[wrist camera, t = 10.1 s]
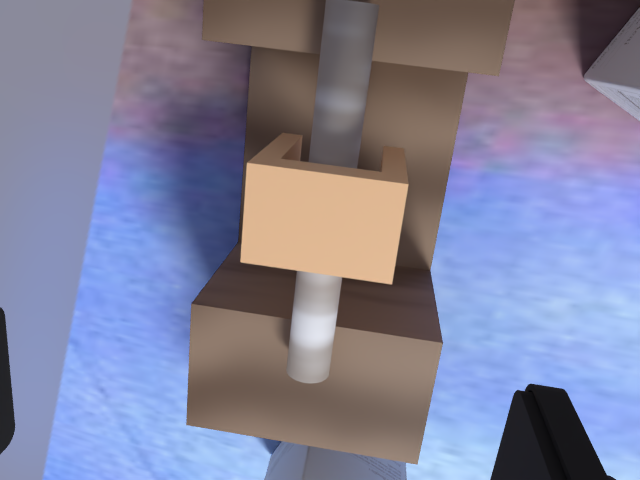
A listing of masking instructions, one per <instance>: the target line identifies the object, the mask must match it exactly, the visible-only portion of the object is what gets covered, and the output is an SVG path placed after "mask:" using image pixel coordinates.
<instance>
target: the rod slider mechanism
mask: <svg viewBox="0 0 640 480" xmlns="http://www.w3.org/2000/svg"><path fill="white" fill-rule="evenodd" d="M514 1H515V0H204V6H203V30H202V40H207V41H215V42H224V43H232V44H240V45H248V46H252V48H251V62H250V77H249V92H248V106H247V121H246V135H245V150H244V165H243V179H242V194H241V208H240V223H239V238H238V243H237V244H236V246H235V247H234V248H233V250H232V251H231V252H230V254H229V255H228V256H227V258H226V259H225V260H224V262H223V263H222V264H221V265H220V267H219V268H218V269H217V271H216V272H215V273H214V275H213V276H212V277H211V279H210V280H209V281H208V283H207V284H206V285H205V287H204V288H203V289H202V290H201V292H200V293H199V294H198V296H197V297H196V298H195V300H194V301H193V302H192V304H191V325H190V350H189V374H188V399H187V423H186V425H190V426H196V427H202V428H208V429H214V430H219V431H225V432H231V433H237V434H243V435H248V436H254V437H260V438H266V439H272V440H278V441H283V442H289V443H295V444H301V445H307V446H312V447H318V448H324V449H330V450H336V451H342V452H347V453H353V454H359V455H365V456H371V457H377V458H382V459H388V460H394V461H400V462H406V463H411V464H418V459H419V454H420V449H421V445H422V440H423V435H424V430H425V426H426V421H427V416H428V411H429V407H430V402H431V397H432V392H433V387H434V383H435V378H436V373H437V368H438V364H439V359H440V354H441V349H442V345H443V341H442V336H441V330H440V324H439V318H438V312H437V307H436V301H435V295H434V289H433V283H432V278H431V272H430V269H431V264H432V259H433V254H434V248H435V243H436V238H437V233H438V228H439V222H440V217H441V212H442V207H443V202H444V196H445V191H446V186H447V181H448V176H449V170H450V165H451V160H452V155H453V150H454V144H455V139H456V134H457V129H458V123H459V118H460V113H461V108H462V103H463V97H464V92H465V87H466V82H467V77H468V72H469V73H477V74H486V75H494V76H499V73H500V68H501V63H502V59H503V54H504V49H505V44H506V40H507V35H508V30H509V25H510V20H511V16H512V11H513V6H514ZM282 133H289V134H296V135H303V136H302V146H301V157H300V161H303V162H311V163H318V164H326V165H333V166H341V167H348V168H356V169H363V170H371V171H379V172H380V166H381V160H382V153H383V146H389V147H397V148H404V152H405V160H406V168H407V176H408V184H409V185H408V191H407V197H406V203H405V209H404V215H403V221H402V227H401V233H400V239H399V245H398V251H397V257H396V263H395V269H394V275H393V282H392V284H385V283H378V282H371V281H365V280H358V279H351V278H344V277H337V276H331V275H324V274H317V273H310V272H303V271H296V270H290V269H283V268H276V267H269V266H262V265H255V264H249V263H242V262H240V260H241V245H242V230H243V215H244V200H245V185H246V170H247V162H248V161H250V160H251V159H252V158H253V157H254V156H256V155H257V154H258V153H259V152H260V151H262V150H263V149H264V148H265V147H266V146H267V145H269V144H270V143H271V142H272V141H273V140H275V139H276V138H277V137H278V136H279V135H281V134H282Z"/></svg>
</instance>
